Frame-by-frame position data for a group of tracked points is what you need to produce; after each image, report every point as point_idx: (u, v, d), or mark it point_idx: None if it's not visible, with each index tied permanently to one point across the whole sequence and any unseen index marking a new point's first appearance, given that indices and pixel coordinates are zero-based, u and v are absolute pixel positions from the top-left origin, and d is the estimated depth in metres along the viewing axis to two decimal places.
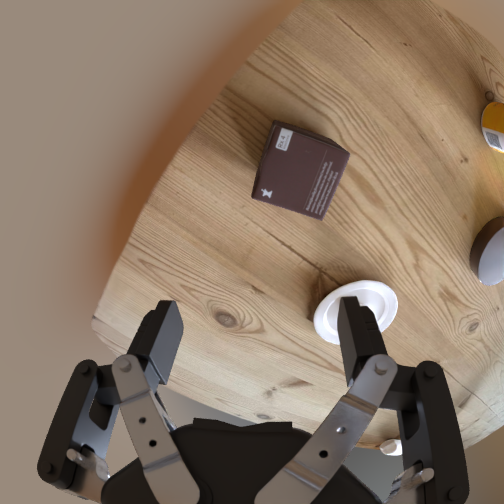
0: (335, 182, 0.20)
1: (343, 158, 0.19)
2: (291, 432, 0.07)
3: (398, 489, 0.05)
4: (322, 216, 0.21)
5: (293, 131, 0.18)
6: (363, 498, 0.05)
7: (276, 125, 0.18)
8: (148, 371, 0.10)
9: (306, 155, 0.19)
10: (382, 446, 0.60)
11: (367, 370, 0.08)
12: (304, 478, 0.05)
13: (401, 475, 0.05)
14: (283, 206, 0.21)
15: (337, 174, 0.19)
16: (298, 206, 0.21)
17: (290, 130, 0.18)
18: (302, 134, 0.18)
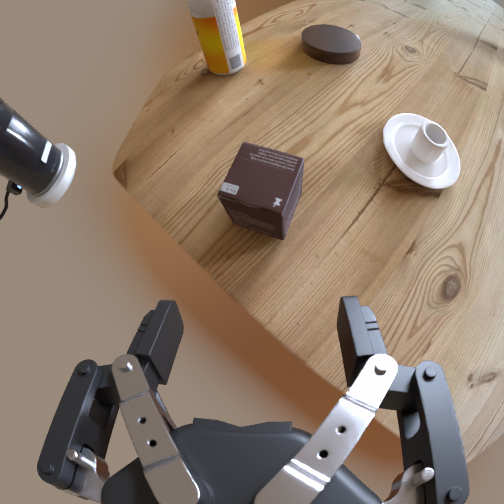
0: (267, 150, 0.24)
1: (247, 146, 0.24)
2: (291, 432, 0.07)
3: (398, 489, 0.05)
4: (299, 158, 0.23)
5: (223, 182, 0.24)
6: (363, 498, 0.05)
7: None
8: (148, 371, 0.10)
9: (243, 171, 0.23)
10: None
11: (367, 370, 0.08)
12: (304, 478, 0.05)
13: (401, 475, 0.05)
14: (290, 188, 0.23)
15: (260, 149, 0.24)
16: (290, 176, 0.23)
17: (222, 184, 0.24)
18: None
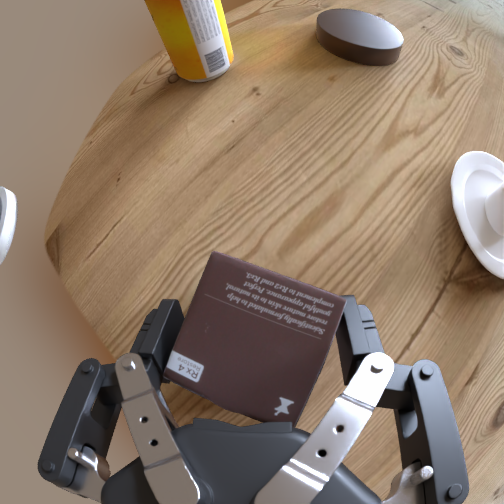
0: (266, 277, 0.11)
1: (220, 263, 0.11)
2: (291, 432, 0.07)
3: (397, 488, 0.05)
4: (337, 299, 0.10)
5: (173, 348, 0.11)
6: (363, 498, 0.05)
7: None
8: (151, 370, 0.10)
9: (213, 331, 0.11)
10: None
11: (363, 368, 0.08)
12: (303, 478, 0.05)
13: (400, 474, 0.05)
14: (313, 377, 0.10)
15: (250, 273, 0.11)
16: (315, 349, 0.10)
17: (171, 353, 0.11)
18: (179, 334, 0.11)
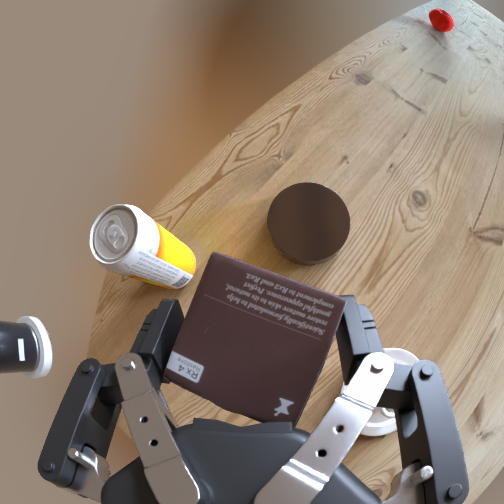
0: (266, 277, 0.11)
1: (220, 263, 0.11)
2: (291, 432, 0.07)
3: (397, 488, 0.05)
4: (337, 300, 0.10)
5: (173, 349, 0.11)
6: (363, 498, 0.05)
7: None
8: (151, 370, 0.10)
9: (213, 332, 0.11)
10: None
11: (363, 368, 0.08)
12: (303, 478, 0.05)
13: (400, 474, 0.05)
14: (313, 378, 0.10)
15: (250, 274, 0.11)
16: (315, 349, 0.10)
17: (171, 353, 0.11)
18: (179, 334, 0.11)
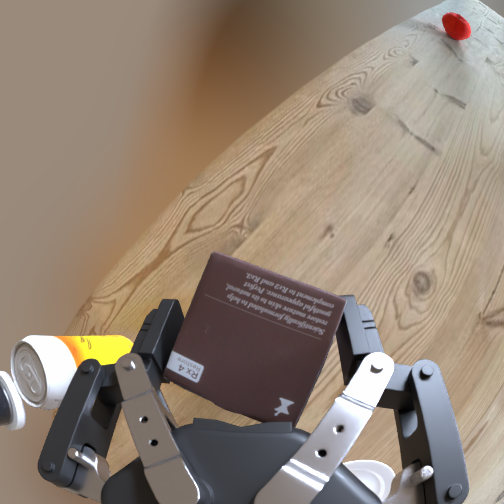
0: (266, 277, 0.11)
1: (220, 263, 0.11)
2: (291, 432, 0.07)
3: (397, 488, 0.05)
4: (337, 300, 0.10)
5: (173, 349, 0.11)
6: (363, 498, 0.05)
7: None
8: (151, 370, 0.10)
9: (213, 332, 0.11)
10: None
11: (363, 368, 0.08)
12: (303, 478, 0.05)
13: (400, 474, 0.05)
14: (313, 378, 0.10)
15: (250, 274, 0.11)
16: (315, 349, 0.10)
17: (171, 353, 0.11)
18: (179, 334, 0.11)
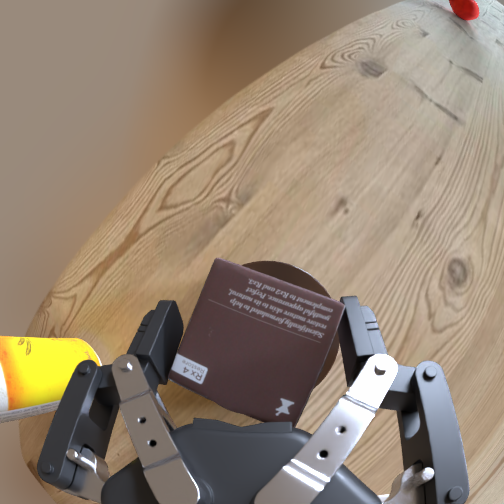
0: (268, 283, 0.11)
1: (223, 269, 0.12)
2: (291, 432, 0.07)
3: (398, 489, 0.05)
4: (336, 305, 0.11)
5: None
6: (363, 498, 0.05)
7: None
8: (148, 371, 0.10)
9: (216, 335, 0.11)
10: None
11: (367, 370, 0.08)
12: (304, 478, 0.05)
13: (401, 475, 0.05)
14: (313, 379, 0.10)
15: (252, 279, 0.11)
16: (314, 352, 0.10)
17: (176, 356, 0.11)
18: None
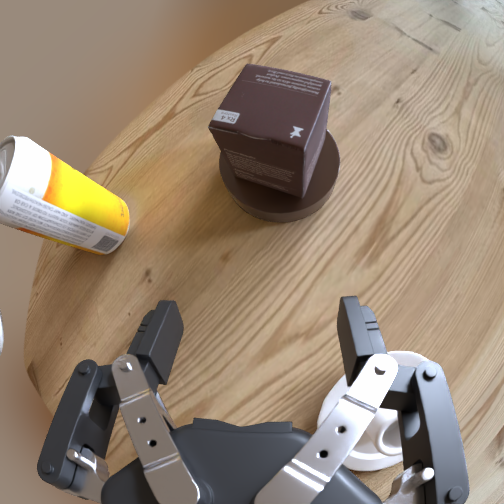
0: (280, 71, 0.15)
1: (251, 67, 0.15)
2: (291, 432, 0.07)
3: (398, 489, 0.05)
4: (325, 80, 0.14)
5: (218, 110, 0.15)
6: (363, 498, 0.05)
7: None
8: (148, 371, 0.10)
9: (247, 95, 0.15)
10: None
11: (367, 370, 0.08)
12: (304, 478, 0.05)
13: (401, 475, 0.05)
14: (315, 115, 0.14)
15: (270, 70, 0.15)
16: (313, 101, 0.14)
17: (216, 112, 0.15)
18: None
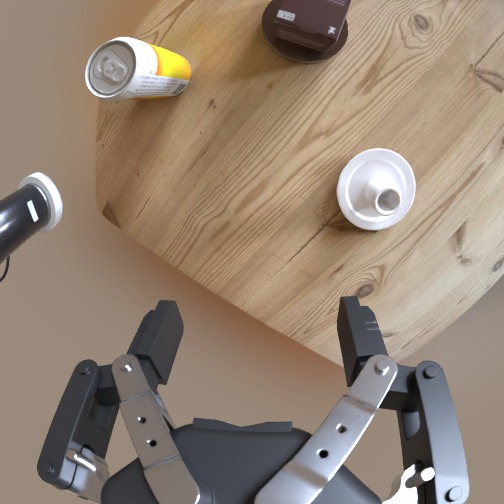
0: None
1: None
2: (291, 432, 0.07)
3: (398, 489, 0.05)
4: None
5: (279, 9, 0.17)
6: (363, 498, 0.05)
7: (274, 20, 0.18)
8: (148, 371, 0.10)
9: (298, 2, 0.17)
10: None
11: (367, 370, 0.08)
12: (304, 478, 0.05)
13: (401, 475, 0.05)
14: (342, 20, 0.17)
15: None
16: (341, 10, 0.17)
17: (278, 11, 0.18)
18: (281, 4, 0.17)
